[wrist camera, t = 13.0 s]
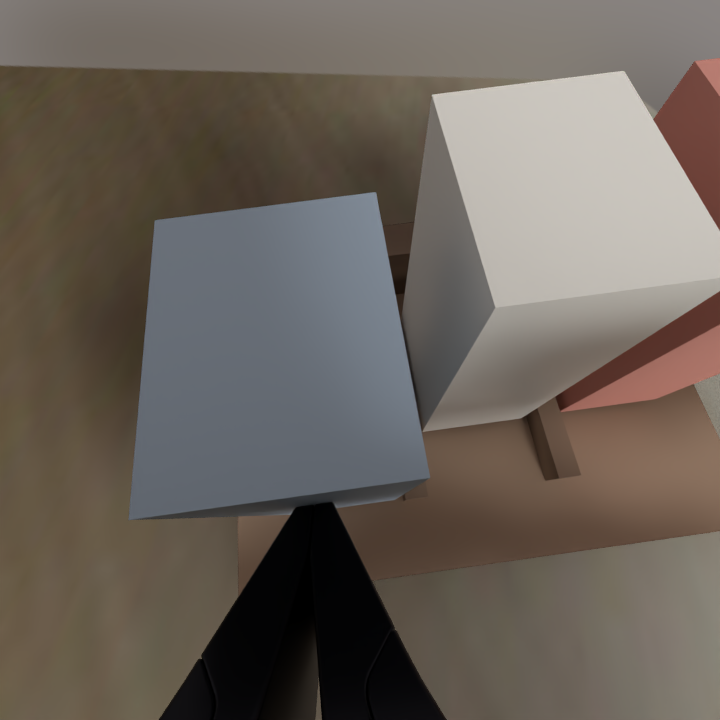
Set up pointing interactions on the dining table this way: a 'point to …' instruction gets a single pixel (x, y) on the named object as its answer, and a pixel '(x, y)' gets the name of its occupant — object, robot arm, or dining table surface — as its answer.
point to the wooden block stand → (532, 482)
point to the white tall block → (544, 244)
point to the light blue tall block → (273, 365)
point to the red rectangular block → (708, 319)
